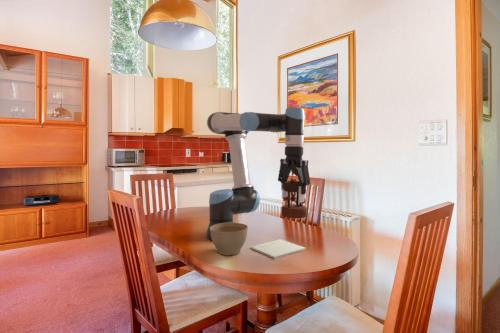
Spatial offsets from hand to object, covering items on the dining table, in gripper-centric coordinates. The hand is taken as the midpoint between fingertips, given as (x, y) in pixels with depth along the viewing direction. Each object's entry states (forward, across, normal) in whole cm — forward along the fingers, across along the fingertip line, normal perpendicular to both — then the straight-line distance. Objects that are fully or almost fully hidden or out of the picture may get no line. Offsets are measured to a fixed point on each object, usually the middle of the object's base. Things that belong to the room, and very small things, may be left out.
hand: (292, 200), depth 124 cm
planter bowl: (+23, -18, -20) cm, 35 cm away
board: (+23, -7, -1) cm, 24 cm away
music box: (+7, 0, 0) cm, 7 cm away
